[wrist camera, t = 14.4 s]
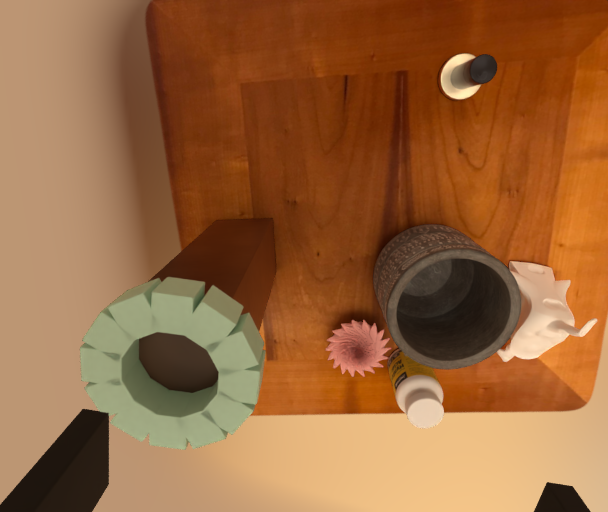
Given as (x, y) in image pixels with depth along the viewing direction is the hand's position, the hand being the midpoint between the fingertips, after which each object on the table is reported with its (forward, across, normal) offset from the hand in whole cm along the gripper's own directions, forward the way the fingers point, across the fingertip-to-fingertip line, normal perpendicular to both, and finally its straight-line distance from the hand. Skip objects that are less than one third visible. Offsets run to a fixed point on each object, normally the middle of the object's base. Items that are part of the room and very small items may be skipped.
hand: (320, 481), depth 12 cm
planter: (+37, +13, -4) cm, 39 cm away
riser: (+36, -8, -5) cm, 38 cm away
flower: (+37, +7, -14) cm, 40 cm away
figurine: (+37, +25, -7) cm, 45 cm away
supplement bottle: (+37, +14, -17) cm, 43 cm away
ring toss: (+36, +12, +17) cm, 42 cm away
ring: (+12, -8, -5) cm, 16 cm away
